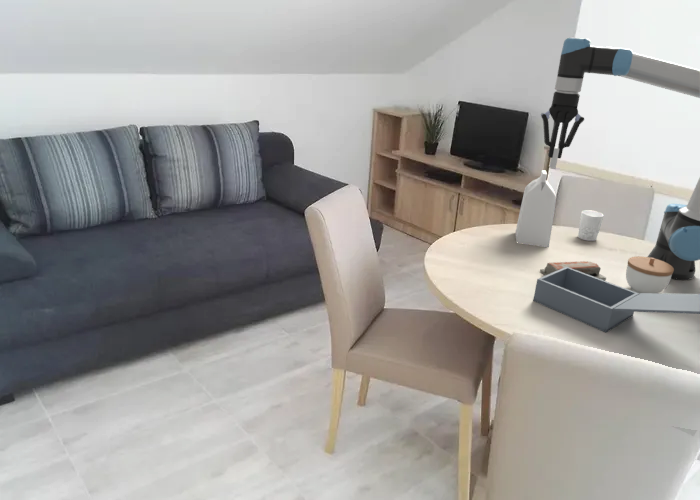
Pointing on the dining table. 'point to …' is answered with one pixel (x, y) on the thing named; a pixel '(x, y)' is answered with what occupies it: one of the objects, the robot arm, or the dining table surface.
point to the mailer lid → (662, 303)
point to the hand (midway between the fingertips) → (552, 167)
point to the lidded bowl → (648, 274)
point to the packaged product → (575, 268)
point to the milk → (536, 213)
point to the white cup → (590, 225)
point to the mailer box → (583, 298)
